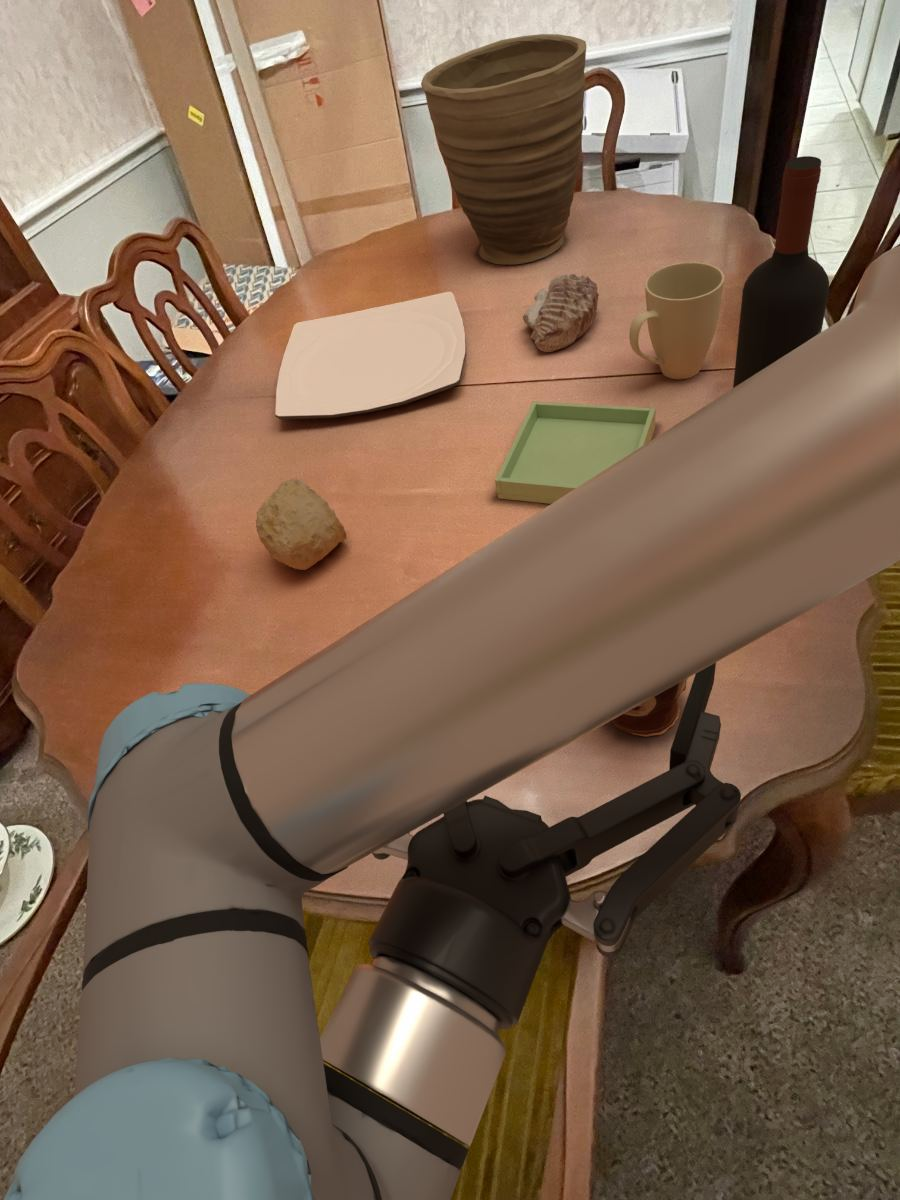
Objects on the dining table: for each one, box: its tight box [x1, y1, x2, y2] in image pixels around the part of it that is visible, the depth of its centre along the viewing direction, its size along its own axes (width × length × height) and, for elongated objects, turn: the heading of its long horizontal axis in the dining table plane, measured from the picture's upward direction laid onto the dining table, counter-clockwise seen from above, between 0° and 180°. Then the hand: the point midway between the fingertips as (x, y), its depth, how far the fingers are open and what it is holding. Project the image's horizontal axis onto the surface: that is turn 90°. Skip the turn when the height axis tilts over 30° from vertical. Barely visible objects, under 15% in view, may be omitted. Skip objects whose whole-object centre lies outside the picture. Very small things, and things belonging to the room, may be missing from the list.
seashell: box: [522, 273, 600, 353], centre depth 107 cm, size 14×9×10 cm
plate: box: [274, 291, 467, 420], centre depth 112 cm, size 29×29×3 cm
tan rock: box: [255, 477, 347, 571], centre depth 85 cm, size 10×10×10 cm
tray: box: [494, 401, 657, 505], centre depth 89 cm, size 15×15×3 cm
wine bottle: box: [732, 155, 830, 389], centre depth 74 cm, size 8×8×30 cm
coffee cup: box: [610, 678, 689, 737], centre depth 62 cm, size 9×8×13 cm
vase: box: [420, 33, 587, 266], centre depth 120 cm, size 25×24×30 cm
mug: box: [628, 261, 725, 380], centre depth 93 cm, size 11×10×12 cm
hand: (592, 637), depth 45 cm, fingers open, 13 cm apart
